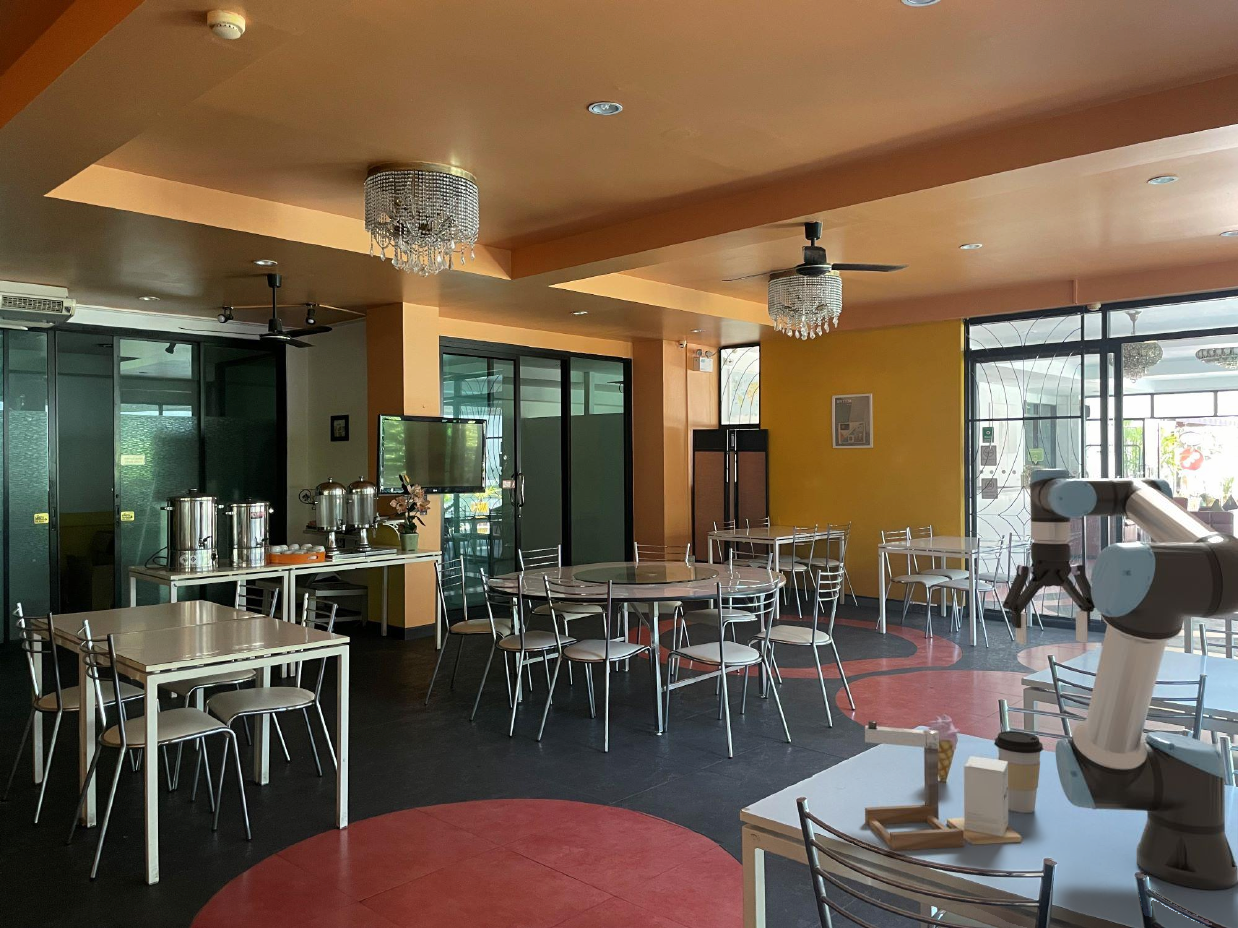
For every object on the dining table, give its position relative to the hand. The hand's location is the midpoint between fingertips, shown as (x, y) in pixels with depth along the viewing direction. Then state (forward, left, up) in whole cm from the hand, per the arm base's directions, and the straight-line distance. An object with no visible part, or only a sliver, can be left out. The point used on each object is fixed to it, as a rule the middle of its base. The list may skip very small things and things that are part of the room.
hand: (1051, 642), depth 187 cm
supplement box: (-10, +20, -34) cm, 41 cm away
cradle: (-8, +34, -35) cm, 49 cm away
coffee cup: (+1, +7, -35) cm, 36 cm away
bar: (+1, +33, -20) cm, 38 cm away
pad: (-10, +21, -35) cm, 42 cm away
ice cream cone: (+18, +15, -35) cm, 42 cm away
